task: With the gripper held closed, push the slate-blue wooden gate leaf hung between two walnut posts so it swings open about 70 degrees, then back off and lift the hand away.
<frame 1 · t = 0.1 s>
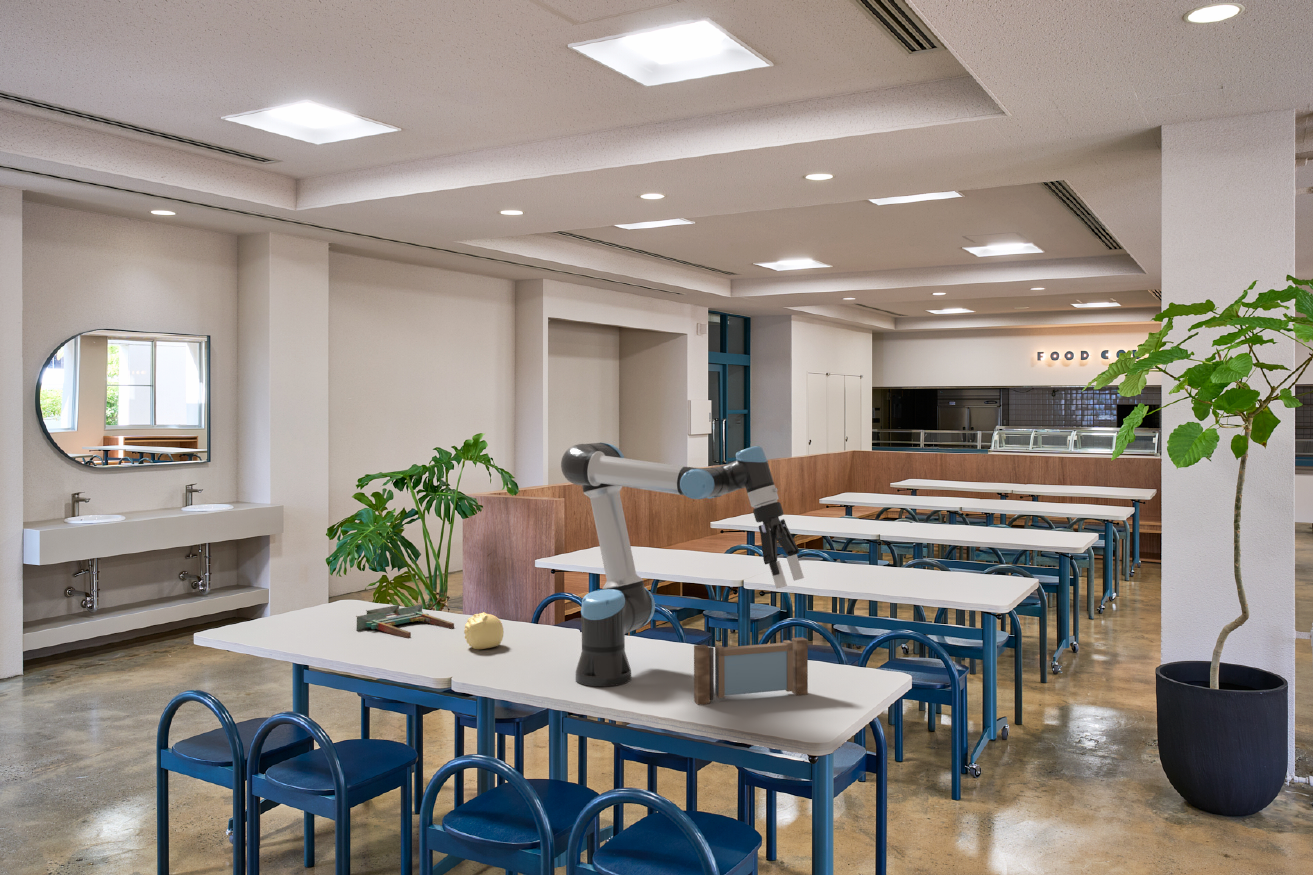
hand: (790, 583, 247), 28 cm above the table, tool tilted 20°, fingers open, 13 cm apart
sculpture: (484, 647, 296), on the table
gate leaf: (754, 668, 241), point 7 cm above the table, hinge at 0.0°
gate posts: (711, 701, 238), on the table
miniature gate: (404, 629, 326), on the table
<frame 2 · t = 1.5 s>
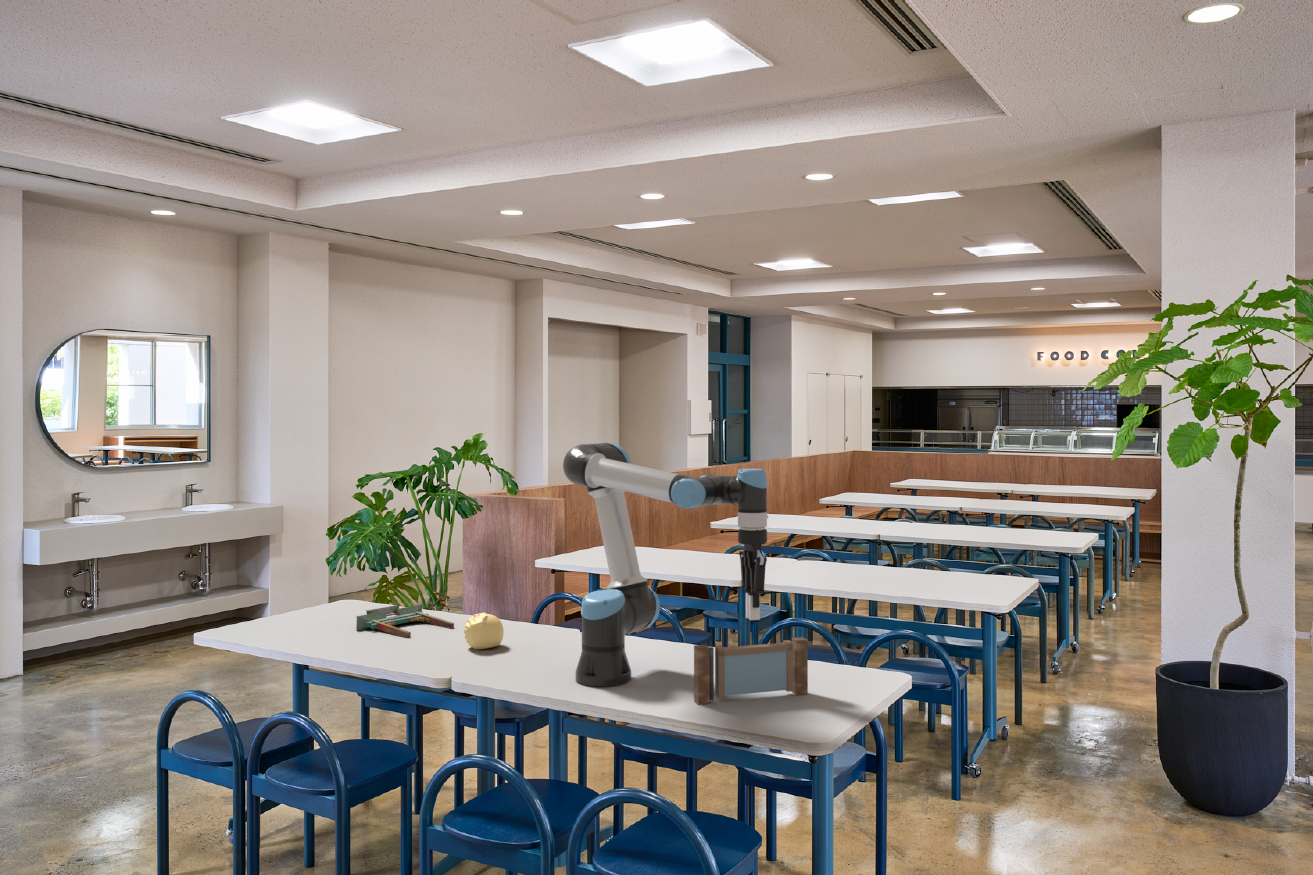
hand: (752, 618, 248), 18 cm above the table, tool pointing down, fingers closed
nothing on the table moved.
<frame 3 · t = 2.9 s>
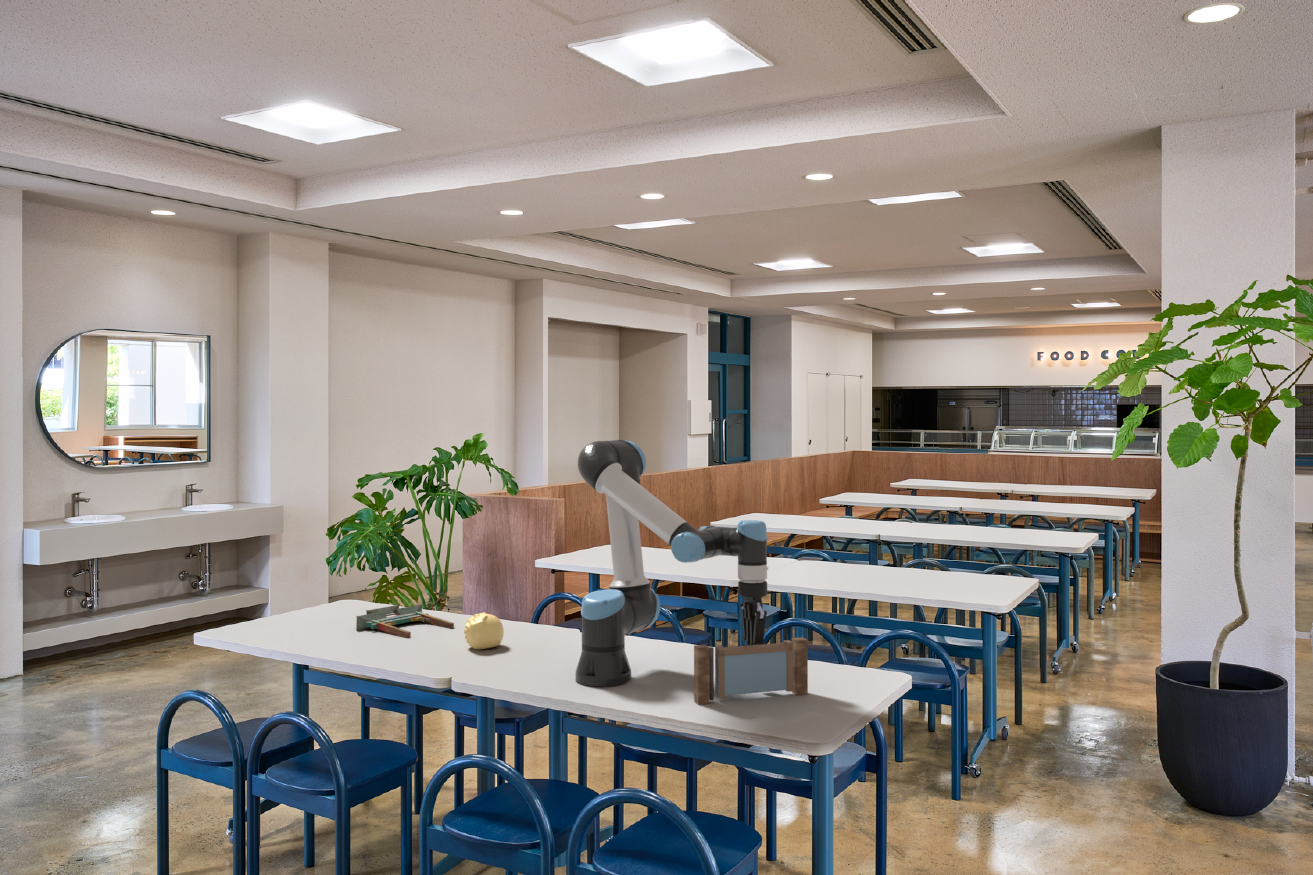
hand: (753, 670, 248), 5 cm above the table, tool pointing down, fingers closed
nothing on the table moved.
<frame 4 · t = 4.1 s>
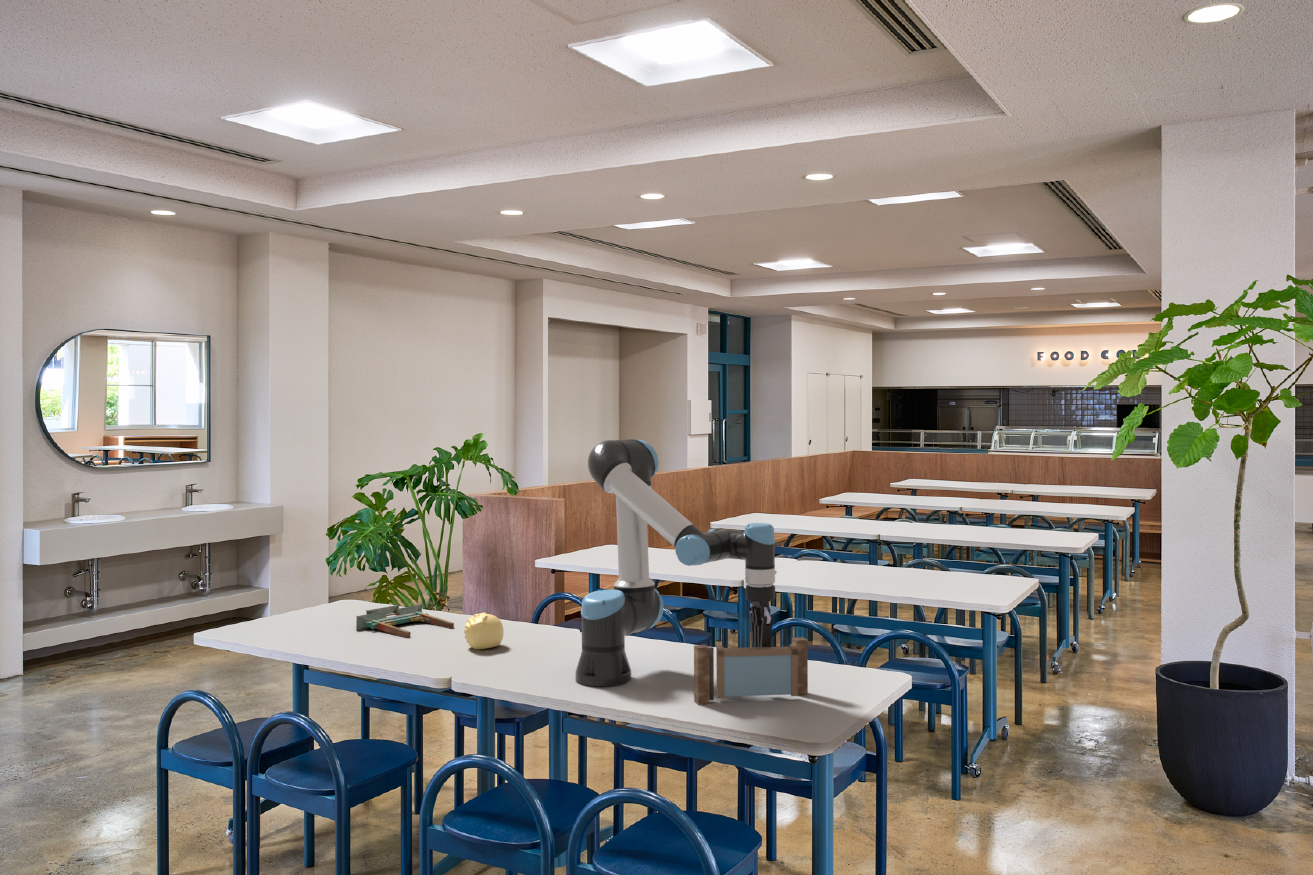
hand: (761, 676, 244), 5 cm above the table, tool pointing down, fingers closed
gate leaf: (756, 670, 238), point 7 cm above the table, hinge at 11.8°, touching hand
everything else where it was.
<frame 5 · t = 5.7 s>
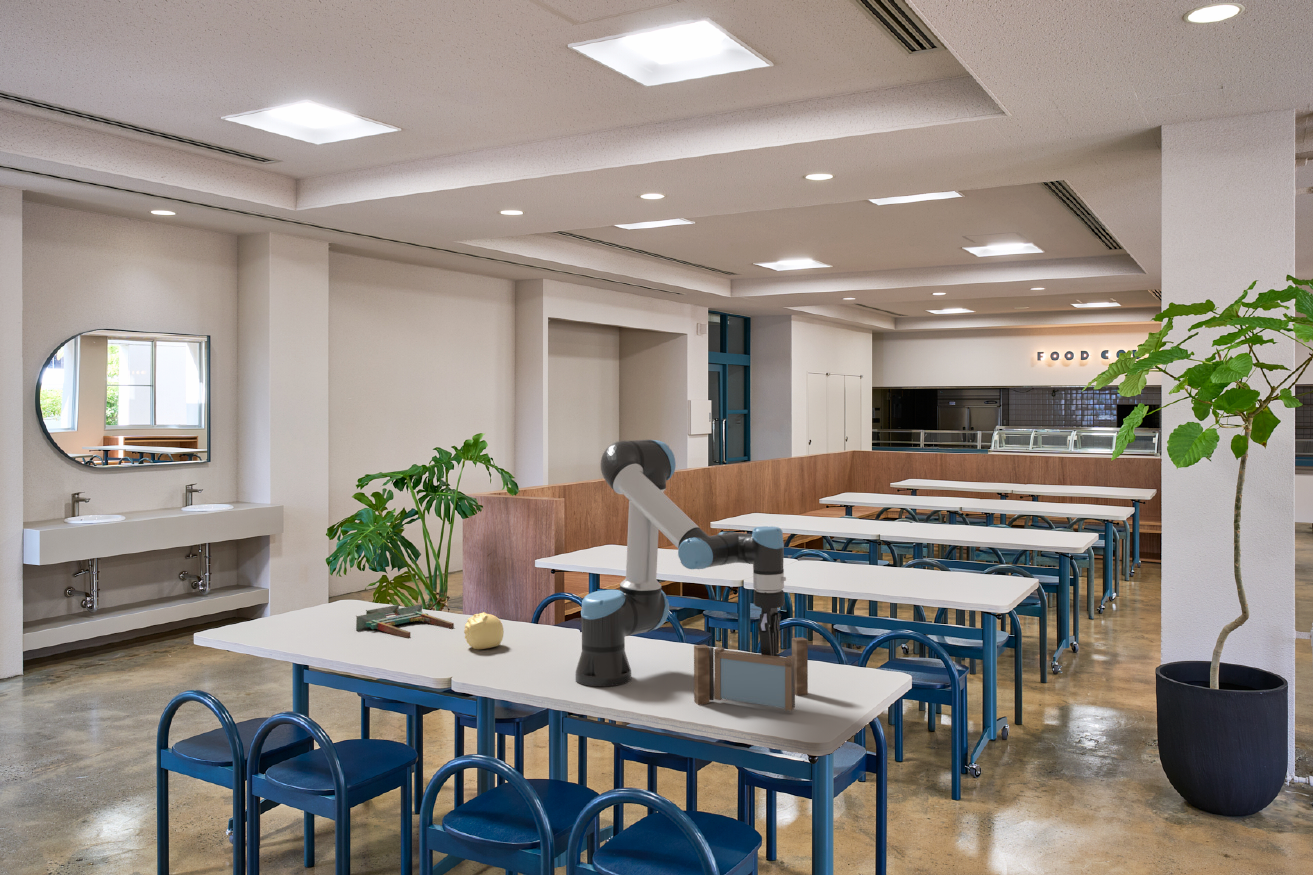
hand: (770, 684, 236), 5 cm above the table, tool pointing down, fingers closed
gate leaf: (754, 677, 232), point 7 cm above the table, hinge at 45.0°, touching hand
everything else where it was.
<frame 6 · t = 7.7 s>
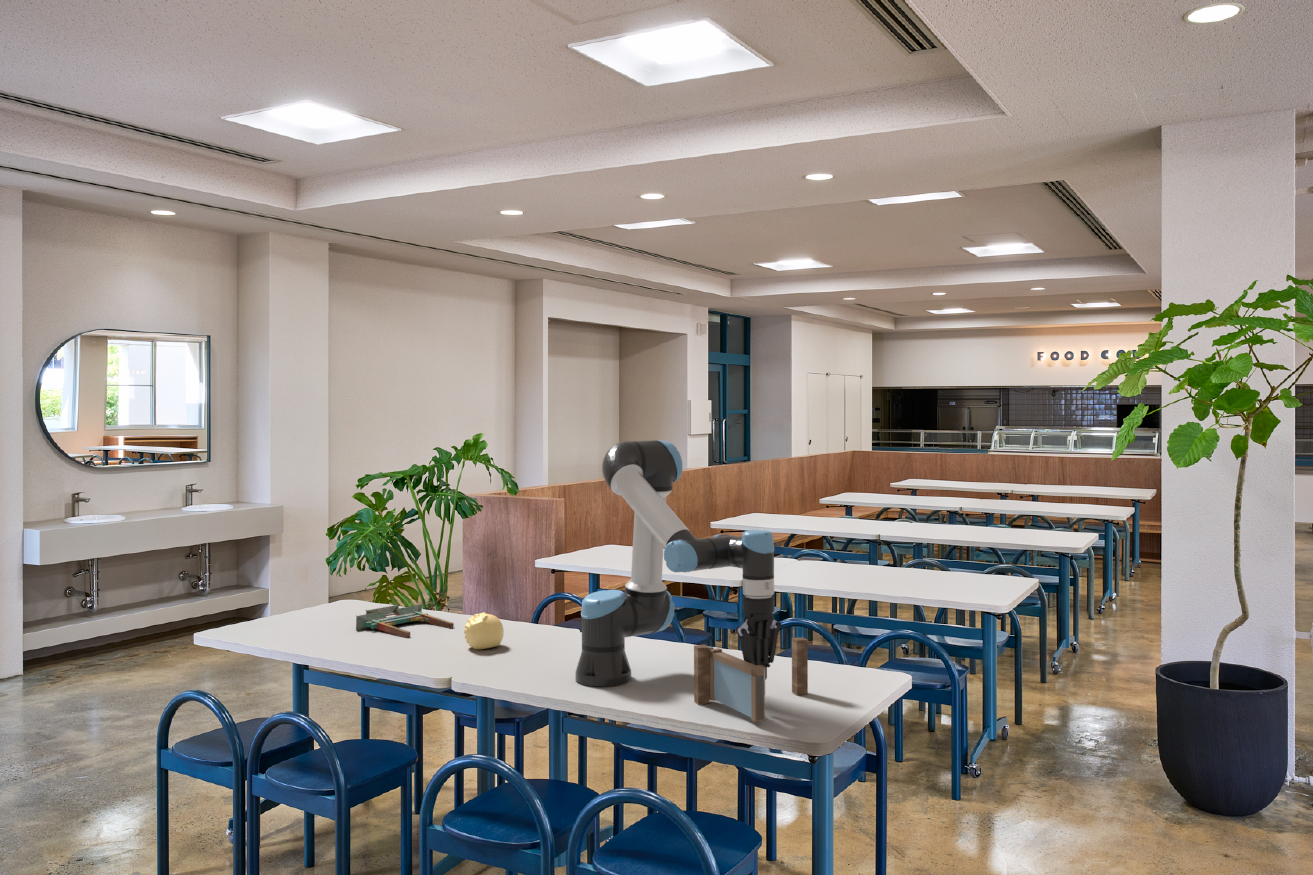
hand: (759, 693, 228), 5 cm above the table, tool pointing down, fingers closed
gate leaf: (736, 683, 227), point 7 cm above the table, hinge at 78.6°, touching hand
everything else where it was.
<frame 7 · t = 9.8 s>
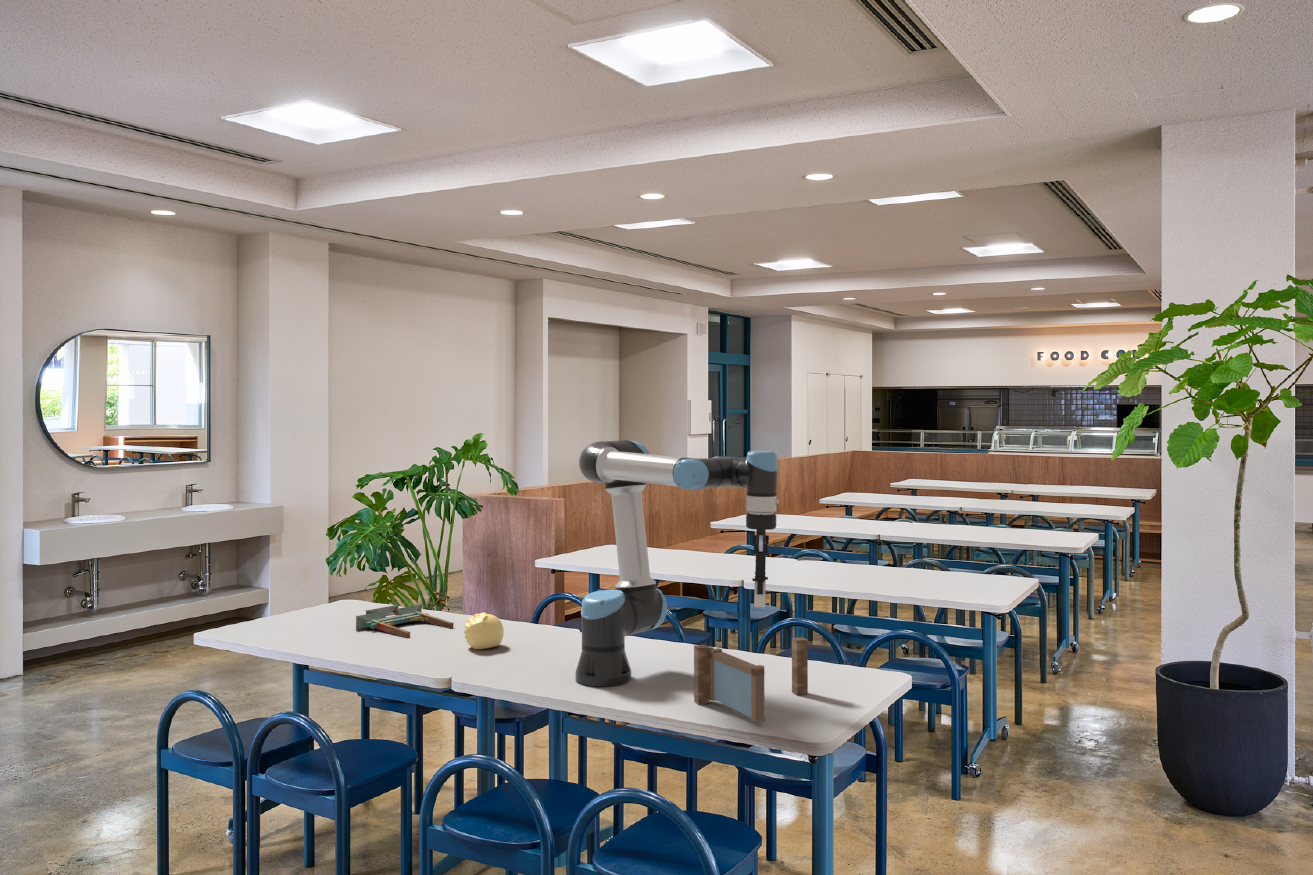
hand: (759, 606, 239), 23 cm above the table, tool pointing down, fingers closed
gate leaf: (736, 683, 227), point 7 cm above the table, hinge at 78.7°
everything else where it was.
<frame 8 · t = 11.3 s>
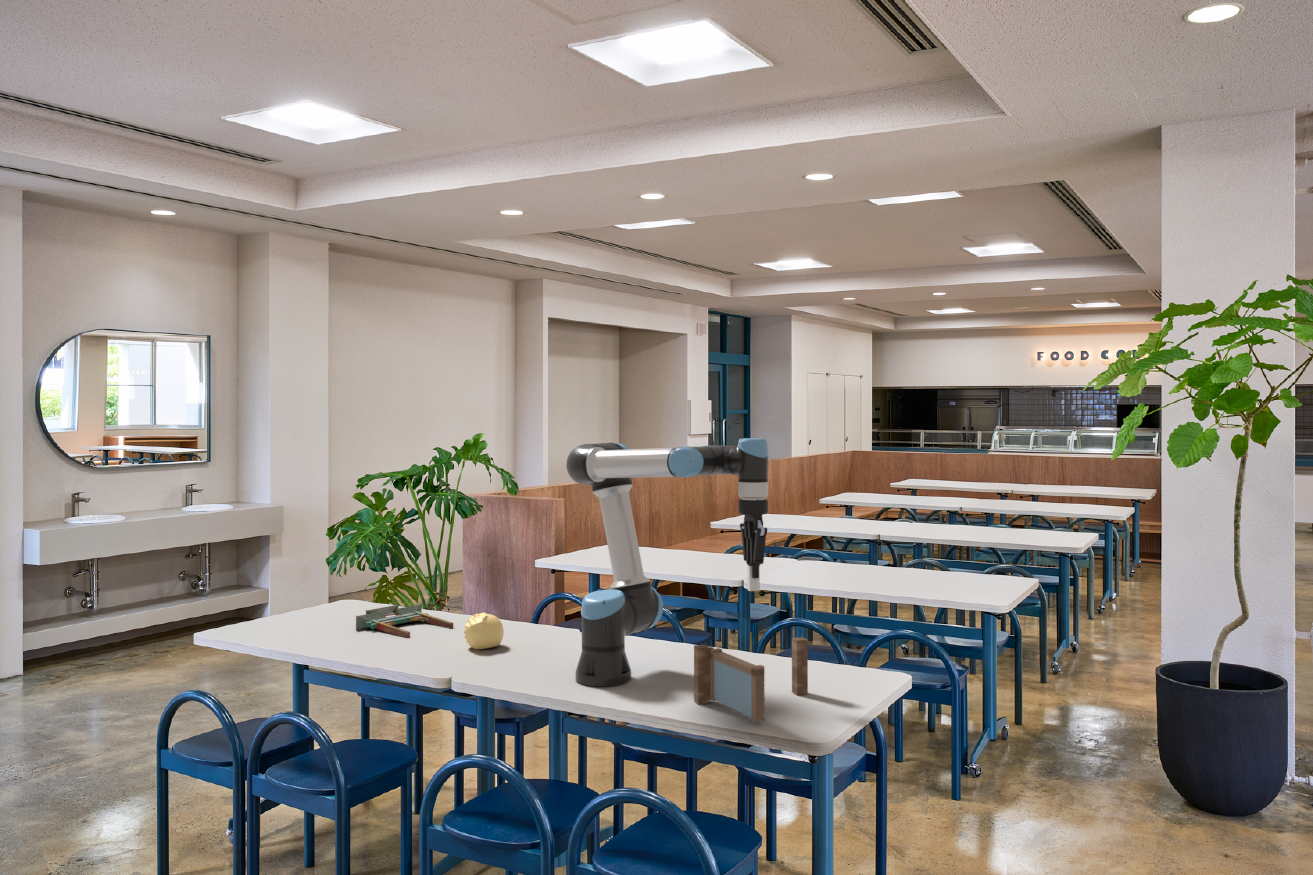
hand: (753, 590, 245), 26 cm above the table, tool pointing down, fingers closed
nothing on the table moved.
at the end: gate leaf at +79° (first picture: +0°) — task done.
